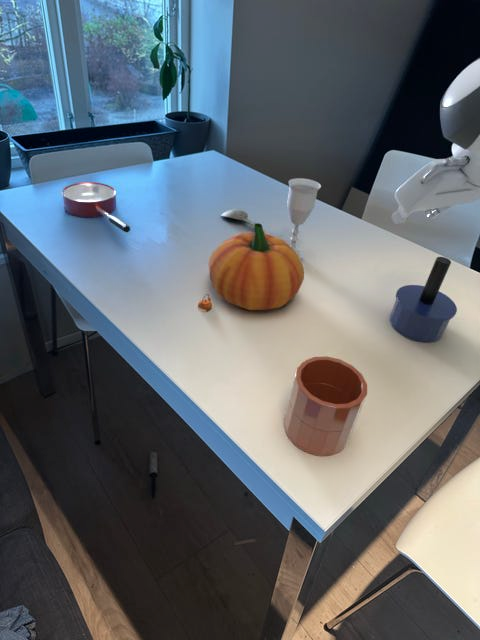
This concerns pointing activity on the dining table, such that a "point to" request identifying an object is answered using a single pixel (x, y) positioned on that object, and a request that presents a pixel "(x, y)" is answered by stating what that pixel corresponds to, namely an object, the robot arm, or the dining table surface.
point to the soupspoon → (238, 216)
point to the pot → (324, 405)
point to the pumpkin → (256, 270)
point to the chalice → (300, 204)
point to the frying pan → (92, 201)
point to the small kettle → (205, 304)
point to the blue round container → (416, 325)
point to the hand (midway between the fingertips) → (412, 217)
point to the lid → (429, 296)
